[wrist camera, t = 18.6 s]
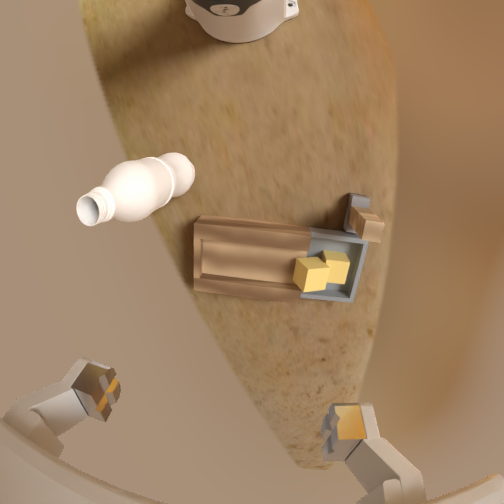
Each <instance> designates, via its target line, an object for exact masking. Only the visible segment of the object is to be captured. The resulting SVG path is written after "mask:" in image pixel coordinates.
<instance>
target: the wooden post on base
mask: <svg viewBox="0 0 504 504" xmlns="http://www.w3.org/2000/svg"><path fill="white" fill-rule="evenodd" d="M369 204H370V198H369V197H367V196H365V195H360V194H354V193H349V197H348V203H347V209H346V214H345V220H344V225H343V228H344V229H345V231H346V232H350V233H357V234H358V236H359V237H360V238H361V240H365V241H372V242H379V243H380V242H381V237H382V233H383V229H384V224H385V223H384V222H383V221H382V220H381V219H380V218H379V217H377V216H376V215H375V214H374V213H373V212H372V211H371V210H369Z"/></svg>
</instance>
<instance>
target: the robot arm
mask: <svg viewBox="0 0 504 504" xmlns="http://www.w3.org/2000/svg"><path fill="white" fill-rule="evenodd" d="M185 2H186V4H187V6H186V9H185V12H186V14H187V16H189V17H190V18H192V19H194V20H196V21H198V22H199V23H200V25H201V26H202V28H203V29H204V30H205V31H206V32H207V33H208V34H209V35H211V36H212V37H214V38H216V39H219V40H222V41H226V42H232V43H242V42H250V41H254V40H257V39H260V38H262V37H264V36H266V35H268V34H270V33H271V32H272V31H274V30H275V29H276V28H277V27H278V26H279V25H280V24H281V23H282V22H284V21H287V20H289V19H292V18H294V17H296V16H297V15H298V14H299V9H298V4H297V0H185ZM288 5H292V7H289V6H288ZM115 375H116V372H115V370H114V368H111V367H108V366H105V365H102V364H100V363H97V362H94V361H91V360H89V359H86V358H83V357H81V358H79V359H78V360H77V361H76V363H75V364H74V365H73V367H72V368H71V369H70V371H69V372H68V373H67V375H66V376H65V377H64V379H63V380H62V381H61V383H60V382H56V383H54V384H51V385H49V386H47V387H44V388H42V389H40V390H37V391H35V392H32V393H30V394H27V395H25V396H23V397H20V398H18V399H16V401H15V402H14V403H13V405H12V406H11V407H10V409H9V410H8V411H7V413H6V414H5V416H4V417H3V418H2V419H1V418H0V504H166V503H163V502H159V501H156V500H152V499H149V498H146V497H143V496H140V495H137V494H135V493H132V492H129V491H126V490H124V489H121V488H119V487H116V486H114V485H111V484H109V483H107V482H104V481H102V480H100V479H98V478H95V477H93V476H91V475H89V474H87V473H85V472H83V471H81V470H79V469H77V468H75V467H73V466H71V465H70V464H68V463H66V462H64V461H62V460H60V459H59V456H60V454H61V452H62V451H63V449H64V446H63V444H62V443H61V441H60V440H59V439H58V438H57V436H59V435H61V434H62V433H64V432H65V431H67V430H69V429H70V428H72V427H73V426H75V425H76V424H78V423H79V422H81V421H83V420H84V419H86V418H87V417H88V416H90V417H93V418H96V419H98V420H101V421H104V422H106V421H107V419H108V417H109V415H110V413H111V411H112V408H111V405H112V404H114V403H116V402H117V400H118V398H119V395H120V391H121V390H120V384H119V381H118V380H117V379H116V378H115ZM321 435H322V438H323V439H324V441H325V443H324V445H323V447H322V452H323V461H345V464H346V465H347V466H348V468H349V469H350V470H351V472H352V473H353V474H354V476H355V477H356V478H357V479H358V481H359V482H360V483H361V485H362V486H363V487H364V489H365V490H366V491H367V493H368V494H367V495H366V496H364V497H363V498H361V499H360V500H359V501H358V502H357V503H356V504H504V477H503V476H501V475H499V474H492V475H489V476H487V477H485V478H483V479H481V480H479V481H477V482H474V483H472V484H470V485H468V486H465V487H463V488H460V489H458V490H456V491H453V492H450V493H448V494H445V495H442V496H439V497H436V498H434V499H430V500H427V499H426V494H425V489H424V484H423V480H422V475H421V472H420V471H419V470H417V469H416V468H415V467H414V466H413V465H412V464H411V463H410V462H409V461H408V460H407V459H406V458H405V457H403V455H402V454H400V453H399V452H398V451H397V450H396V449H395V448H394V447H393V446H392V445H391V444H390V443H389V442H388V441H387V440H386V439H385V438H380V434H379V430H378V426H377V422H376V417H375V414H374V409H373V405H372V404H371V403H332V404H331V405H330V407H329V414H327V415H325V417H324V419H323V422H322V429H321Z"/></svg>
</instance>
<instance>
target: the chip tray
mask: <svg viewBox="0 0 504 504" xmlns="http://www.w3.org/2000/svg"><path fill="white" fill-rule="evenodd" d="M309 230H310V233H311V236H312V237H311V243H310V248H309V252H308V251H307V255H306V257H318V258H320V259H321V258H322V253H323V250H327V251H335V252H343V253H346V255H347V257H348V259H349V261H350V265H349V269H348V273H347V277H346V281H345V284H337V283H328V282H327V284H326V288H325V290H319V291H311V292H303V291H302V292H301V297H300V298H310V299H320V300H330V301H341V302H352V303H353V299H354V296H355V293H356V289H357V286H358V282H359V278H360V275H361V271H362V267H363V263H364V259H365V255H366V251H367V247H368V243H369V241H365V240H361V238H360V237H359V236H358V234H357V233H350V232H346V231H340V230H332V229H325V228H317V227H310V226H309Z"/></svg>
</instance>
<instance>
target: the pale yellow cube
mask: <svg viewBox="0 0 504 504" xmlns="http://www.w3.org/2000/svg"><path fill="white" fill-rule="evenodd" d="M321 260H322V261H323V262H324V263H326V264H327V265H328V266H329V267H330V271H329V275H328V279H327V282H328V283H337V284H345V281H346V277H347V273H348V269H349V265H350V261H349V259H348V257H347V255H346V253H343V252H335V251H327V250H323V253H322V258H321Z"/></svg>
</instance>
